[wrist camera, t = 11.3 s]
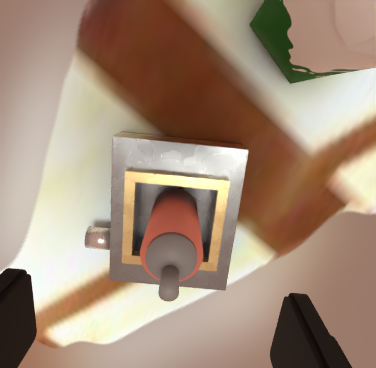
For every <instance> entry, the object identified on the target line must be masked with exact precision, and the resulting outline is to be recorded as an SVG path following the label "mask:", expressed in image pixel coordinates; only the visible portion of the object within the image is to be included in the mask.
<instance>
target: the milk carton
mask: <svg viewBox="0 0 376 368" xmlns="http://www.w3.org/2000/svg"><path fill="white" fill-rule="evenodd" d="M250 26H251V27H252V29H253V30H254V32H255V33H256V35H257V36H258V38H259V39H260V40H261V42H262V43H263V45H264V46H265V48H266V49H267V50H268V52H269V53H270V55H271V56H272V58H273V59H274V60H275V62H276V63H277V65H278V66H279V68H280V69H281V70H282V72H283V73H284V75H285V76H286V78H287V79H288V81H289V82H290V83H296V82H300V81H305V80H310V79H315V78H319V77H324V76H329V75H334V74H340V73H346V72H352V71H357V70H363V69H369V68H375V67H376V0H265V1H264V3H263V4H262V6H261V8H260V9H259V11H258V12H257V14H256V16H255V17H254V19H253V20H252V22H251V24H250Z"/></svg>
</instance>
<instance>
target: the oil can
mask: <svg viewBox="0 0 376 368" xmlns="http://www.w3.org/2000/svg"><path fill="white" fill-rule="evenodd" d="M140 259H141V263H142V265H143V267H144V269H145V270H146V271H147V272H148V273H149V274H150V275H151V276H152V277H154V278H156V279H158V280H160V286H159V296H160V298H161V299H162V300H164V301H173V300H175V299H176V298H177V297H178V294H179V282H180V281H183V280H186V279H188V278H190V277H191V276H193V275H194V274H195V273H196V272H197V271H198V269H199V268H200V266H201V264H202V261H203V247H202V240H201V232H200V225H199V217H198V210H197V204H196V201H195V199H194V197H193V196H192V195H191V194H190V193H189V192H187V191H185V190H183V189H179V188H171V189H167V190H165V191H163V192H162V193H160V194H159V195H158V196H157V198H156V200H155V202H154V205H153V208H152V212H151V215H150V218H149V222H148V225H147V228H146V232H145V235H144V239H143V242H142V245H141V249H140Z"/></svg>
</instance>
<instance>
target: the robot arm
mask: <svg viewBox="0 0 376 368" xmlns="http://www.w3.org/2000/svg"><path fill="white" fill-rule="evenodd" d="M36 333H37V329H36V319H35V310H34V301H33V291H32V282H31V276H30V275H29V274H27V272H26V270H23V269H11V268H8V269H6V270H4V271H3V272H2V273H1V274H0V368H17V367H18V366H19V364H20V362H21V361H22V359H23V358H24V356H25V355H26V353H27V351H28V350H29V348H30V347H31V345H32V343H33V342H34V340H35V337H36ZM270 358H271V363H272V366H273V368H352V367H351V365H350V363H349V361H348V360H347V358H346V356H345V355H344V353H343V351H342V350H341V347H340V346H339V344H338V342H337V341H336V340H335V338H334V337H333V336H331V335H330V334H329V332H328V330H327V329H326V327H325V325H324V323H323V321H322V320H321V318H320V316H319V314H318V312H317V311H316V309H315V307H314V305H313V304H312V302H311V300H310V298H309V297H308V295H306V294H298V293H290V294H289V296H288V297H284V300H283V304H282V307H281V311H280V315H279V319H278V323H277V327H276V331H275V334H274V338H273V342H272V346H271V350H270Z"/></svg>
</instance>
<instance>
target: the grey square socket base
mask: <svg viewBox="0 0 376 368" xmlns="http://www.w3.org/2000/svg"><path fill="white" fill-rule="evenodd" d="M247 156H248V149H247V148H246V147H244V146H243V145H242V144H240V143H230V142H220V141H210V140H200V139H191V138H181V137H171V136H161V135H151V134H141V133H131V132H120V133H118V134H116V135H114V136H113V140H112V187H111V228H102V227H91V226H90V227H89V228H88V229H87V232H86V235H85V247H86V248H94V249H105V250H110V280H112V281H124V282H135V283H146V284H158V285H160V280H158V279H156V278H154V277H152V276H151V275H150V274H149V273H148V272H147V271H146V270H145V269H144V267H143V265H142V263H141V259H140V249H141V245H142V242H143V239H144V235H145V232H146V228H147V225H148V222H149V218H150V215H151V212H152V208H153V205H154V202H155V200H156V198H157V196H158V195H159V194H160V193H162V192H163V191H165V190H167V189H171V188H179V189H183V190H185V191H187V192H189V193H190V194H191V195H192V196H193V197H194V199H195V201H196V204H197V210H198V217H199V225H200V232H201V240H202V247H203V261H202V264H201V266H200V268H199V269H198V271H197V272H196V273H195V274H194V275H193V276H191V277H190V278H188V279H186V280H183V281H180V282H179V286H181V287H192V288H203V289H215V290H225V289H226V284H227V278H228V271H229V265H230V259H231V253H232V247H233V241H234V235H235V229H236V223H237V217H238V211H239V205H240V199H241V193H242V187H243V181H244V175H245V168H246V162H247Z"/></svg>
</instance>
